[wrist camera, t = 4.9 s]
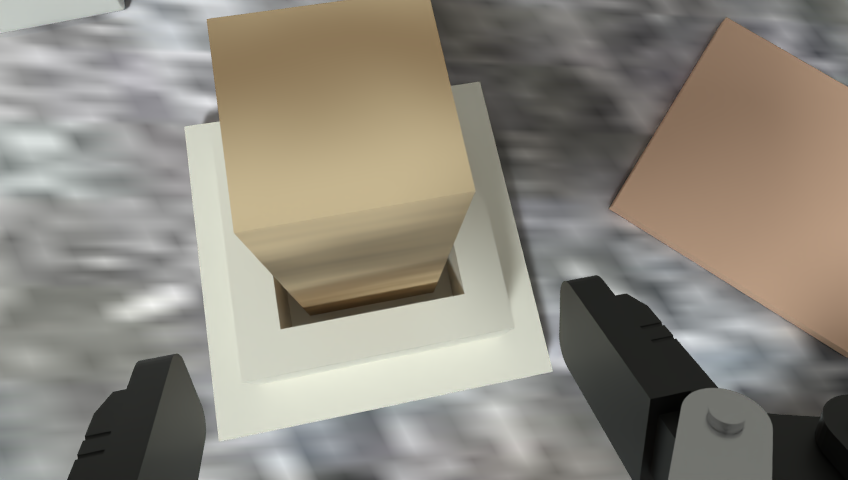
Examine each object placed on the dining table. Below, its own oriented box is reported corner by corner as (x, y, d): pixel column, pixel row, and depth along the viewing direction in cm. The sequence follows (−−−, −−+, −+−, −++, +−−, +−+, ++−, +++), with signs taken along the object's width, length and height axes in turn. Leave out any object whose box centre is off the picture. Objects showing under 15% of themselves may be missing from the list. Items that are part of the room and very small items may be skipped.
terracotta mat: (846, 357, 26) (855, 356, 25) (608, 208, 27) (613, 205, 26) (938, 148, 29) (947, 144, 28) (720, 23, 30) (726, 17, 29)
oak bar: (433, 292, 24) (475, 191, 12) (310, 315, 23) (233, 233, 12) (409, 178, 25) (427, -11, 14) (292, 198, 25) (206, 18, 13)
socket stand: (543, 373, 25) (576, 367, 20) (229, 439, 23) (193, 448, 19) (475, 97, 28) (491, 42, 24) (195, 141, 27) (157, 91, 22)
